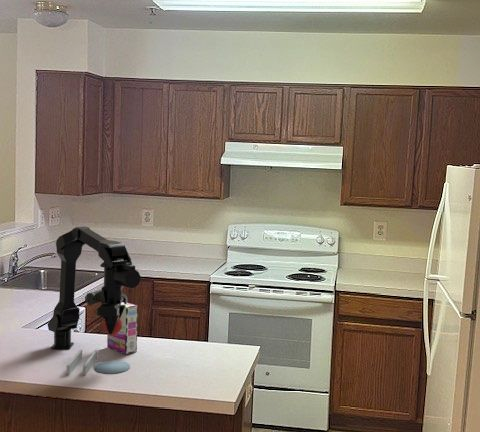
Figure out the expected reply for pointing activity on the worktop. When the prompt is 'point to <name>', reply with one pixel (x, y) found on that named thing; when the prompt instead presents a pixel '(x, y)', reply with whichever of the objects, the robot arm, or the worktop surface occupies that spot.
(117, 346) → the candy bar box
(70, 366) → the low walls
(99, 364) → the mat
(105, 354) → the worktop surface
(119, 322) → the onion
